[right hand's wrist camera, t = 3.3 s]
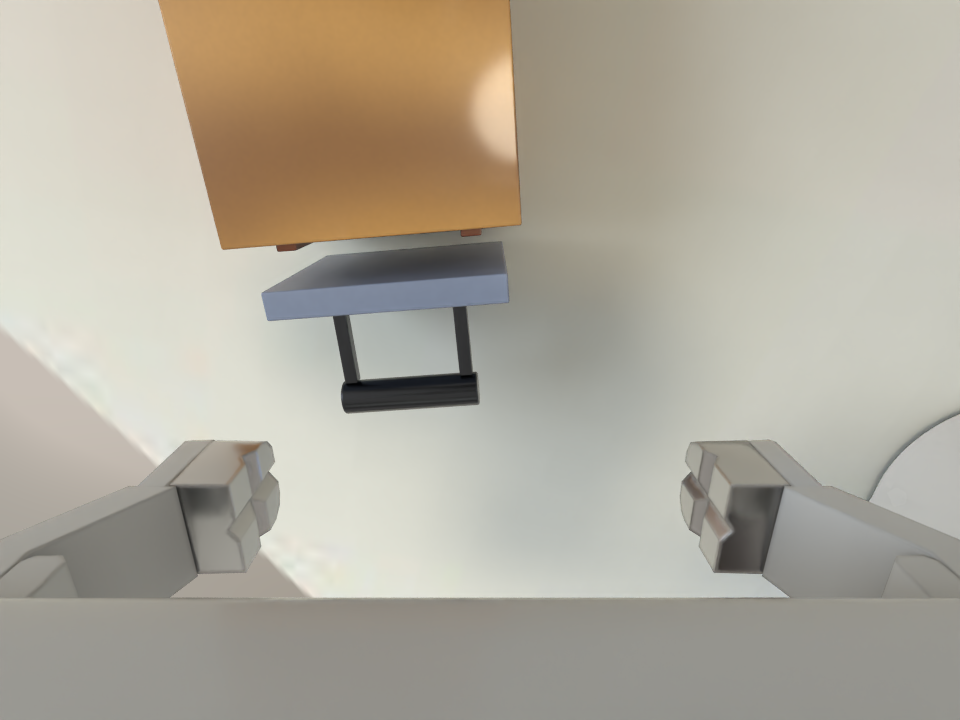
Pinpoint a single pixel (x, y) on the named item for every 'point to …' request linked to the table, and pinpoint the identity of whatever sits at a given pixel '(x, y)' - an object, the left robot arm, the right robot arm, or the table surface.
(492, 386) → the table surface
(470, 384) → the drawer
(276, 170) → the cabinet
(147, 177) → the table surface
